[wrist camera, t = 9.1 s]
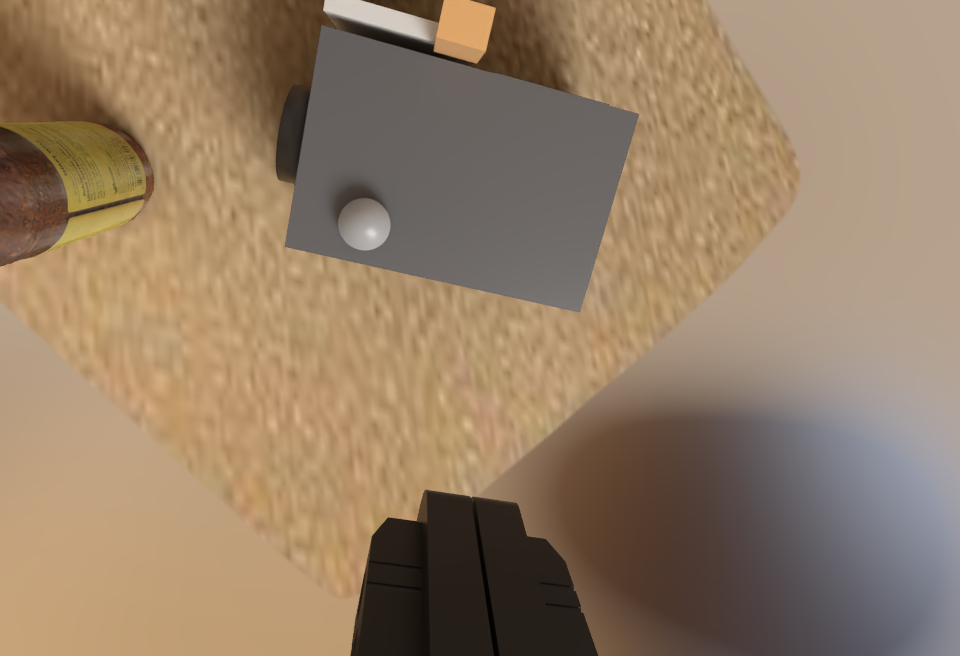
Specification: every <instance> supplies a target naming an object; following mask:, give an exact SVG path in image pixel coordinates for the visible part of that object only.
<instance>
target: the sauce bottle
mask: <svg viewBox="0 0 960 656" xmlns="http://www.w3.org/2000/svg"><path fill="white" fill-rule="evenodd" d="M153 186H154V177H153V173H152V169H151V167H150V164H149V161H148V158H147V156H146V155H145V153H144V151H143V150H142V148H141V147H140V146H139V145H138V144H137V143H136V142H135V141H134V140H133V139H131V138H130V137H128V136H127V135H126V134H124V133H123V132H121V131H119V130H117V129H115V128H113V127H111V126H108V125H103V124H95V123H91V122H84V121H52V122H7V123H0V266H4V265H6V264H11V263H13V262H15V261H18V260H21V259H27V258H32V257H35V256H38V255H41V254H44V253H46V252H49V251H52V250H55V249H58V248H60V247H63V246H66V245H68V244H71V243H74V242H76V241H79V240H82V239H85V238H88V237H91V236H94V235H97V234H99V233H102V232H105V231H107V230H110V229H113V228H116V227H118V226H121V225H123V224H125V223H126V222H128V221H130V220H133V219H134V218H135V217H136V215H137V214H138V213H140V212H141V211H142V210H143V208H144V207H145V205H146V204H147V202H148V201H149V198H150V197H151V195H152V192H153V190H154V188H153Z"/></svg>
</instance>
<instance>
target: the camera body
mask: <svg viewBox="0 0 960 656" xmlns="http://www.w3.org/2000/svg"><path fill="white" fill-rule="evenodd" d="M638 116H639V114H637V113H634V112H630V111H626V110H623V109H619V108H616V107H612V106H609V104H606V103H602V102H598V101H595V100H591V99H588V98H584V97H581V96H577V95H574V94H570V93H566V92H563V91H559V90H556V89H552V88H549V87H545V86H541V85H538V84H534V83H531V82H527V81H524V80H520V79H517V78H513V77H509V76H506V75H502V74H499V73H495V72H494V73H491V72H487V71H484V70H480V69H477V68H473V67H470V66H466V65H462V64H459V63H455V62H452V61H448V60H445V59H441V58H437V57H434V56H430V55H427V54H423V53H420V52H416V51H412V50H409V49H405V48H402V47H398V46H395V45H391V44H388V43H384V42H380V41H377V40H373V39H370V38H366V37H363V36H359V35H355V34H352V33H348V32H345V31H341V30H338V29H334V28H330V27H327V26H323V25H321V31H320V37H319V44H318V50H317V56H316V62H315V68H314V74H313V80H312V86H311V88H308V87H304V86H300V85H296V84H295V85H293V86H292V88H291V90H290V92H289V94H288V96H287V99H286V102H285V105H284V109H283V113H282V117H281V122H280V127H279V133H278V140H277V150H276V172H277V177H278V179H279V180H281V181H285V182H289V183H293V184H295V188H294V194H293V200H292V206H291V212H290V218H289V224H288V230H287V236H286V242H285V247H288V248H293V249H297V250H302V251H306V252H311V253H315V254H320V255H324V256H329V257H333V258H338V259H342V260H347V261H351V262H356V263H360V264H365V265H369V266H373V267H378V268H382V269H387V270H391V271H396V272H400V273H405V274H409V275H414V276H418V277H423V278H427V279H432V280H436V281H441V282H445V283H450V284H454V285H459V286H463V287H468V288H472V289H477V290H481V291H486V292H490V293H495V294H499V295H504V296H508V297H513V298H517V299H522V300H526V301H531V302H535V303H540V304H544V305H549V306H553V307H558V308H562V309H567V310H571V311H576V312H580V310H581V307H582V303H583V300H584V297H585V293H586V290H587V287H588V283H589V280H590V277H591V273H592V270H593V267H594V263H595V260H596V257H597V253H598V250H599V247H600V243H601V240H602V236H603V233H604V230H605V226H606V223H607V220H608V216H609V213H610V210H611V206H612V203H613V200H614V196H615V193H616V190H617V186H618V183H619V180H620V176H621V173H622V170H623V166H624V163H625V160H626V156H627V153H628V150H629V146H630V143H631V140H632V136H633V133H634V129H635V126H636V123H637V119H638Z"/></svg>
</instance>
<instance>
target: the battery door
mask: <svg viewBox="0 0 960 656" xmlns="http://www.w3.org/2000/svg"><path fill="white" fill-rule="evenodd" d="M495 10H496V8H494V7H491V6H488V5H484V4H481V3H478V2H474V1H471V0H444V2H443V7H442V12H441V16H440V21H439V23H437V22H434V21H431V20H427V19H424V18H420V17H417V16H413V15H410V14H406V13H403V12H399V11H396V10H393V9H389V8H386V7H382V6H379V5H375V4H372V3H368V2H365V1H361V0H325V2H324V9H323V11H324V12H325V13H326V15H327V16H328V17H329V19H330V20H331V22H332V23H333V24H334V26H335V27H336V29H338V30H341V31H345V32H348V33H352V34H355V35H359V36H363V37H366V38H370V39H373V40H377V41H380V42H384V43H388V44H391V45H395V46H398V47H402V48H405V49H409V50H412V51H416V52H420V53H423V54H427V55H430V56H434V57H437V58H441V59H445V60H448V61H452V62H455V63H459V64H462V65H466V66H471V65H472V63H476V64H477V63H478V61H479V60H480V59H481V57H482V56H483V55H484V53H485V52H486V49H487V44H488V40H489V36H490V31H491V27H492V23H493V18H494V14H495Z"/></svg>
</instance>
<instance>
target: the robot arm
mask: <svg viewBox="0 0 960 656" xmlns="http://www.w3.org/2000/svg"><path fill="white" fill-rule="evenodd" d="M351 656H598V654H597V651H596V648H595V645H594V642H593V639H592V637H591V634H590V631H589V628H588V625H587V622H586V620H585V617H584V614H583V613H581V605H580V602H579V599H578V597H577V594H576V591H574V585H573V582H572V580H571V577H570V574H569V571H568V568H567V565H566V563H565V561H564V560H563V558H562V557H561V556H560V555H559V554H558V553H557V552H556V550H555V549H554V548H553V547H552V546H551V545H550V544H549V542H548V541H547V540H546V539H541V538H535V537H527V535H526V531H525V528H524V524H523V520H522V517H521V513H520V509H519V506H518V504H517V503H513V502H505V501H499V500H493V499H485V498H479V497H472V498H470V496H464V495H457V494H450V493H444V492H437V491H430V490H425V491H424V493H423V497H422V500H421V504H420V509H419V513H418V518H417V521H410V520H403V519H396V518H389V517H388V518H387V519H386V520H385V522H384V523H383V524H382V525H381V526H380V527H379V529H378V530H377V531H376V532H375V533H374V534H373V536H372V539H371V544H370V549H369V554H368V559H367V564H366V569H365V574H364V579H363V584H362V589H361V594H360V599H359V604H358V609H357V614H356V619H355V626H354V633H353V641H352V650H351Z"/></svg>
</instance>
